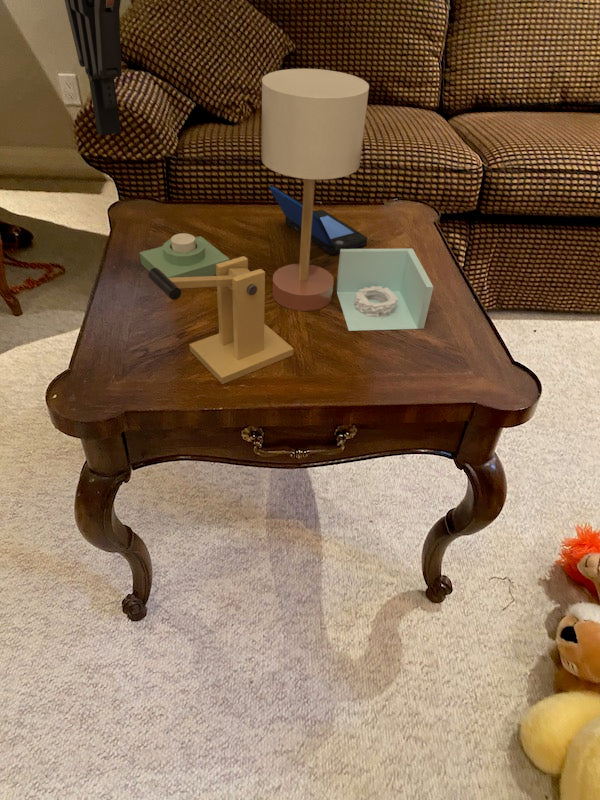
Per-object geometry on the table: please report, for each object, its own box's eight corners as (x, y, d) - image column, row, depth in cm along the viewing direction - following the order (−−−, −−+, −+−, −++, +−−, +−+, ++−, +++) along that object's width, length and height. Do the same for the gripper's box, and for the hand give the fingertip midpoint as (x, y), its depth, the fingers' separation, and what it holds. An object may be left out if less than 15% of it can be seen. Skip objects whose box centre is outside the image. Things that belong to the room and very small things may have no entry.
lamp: (293, 328, 90) (305, 103, 69) (243, 287, 98) (241, 75, 77) (361, 301, 97) (391, 89, 76) (310, 265, 105) (324, 64, 84)
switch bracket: (222, 384, 80) (218, 297, 70) (189, 350, 85) (181, 265, 75) (293, 355, 85) (298, 270, 76) (258, 325, 90) (259, 242, 81)
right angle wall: (336, 289, 99) (340, 249, 94) (404, 288, 101) (412, 248, 96) (348, 330, 90) (354, 288, 85) (423, 328, 92) (433, 287, 87)
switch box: (167, 289, 97) (165, 267, 94) (140, 263, 102) (137, 242, 100) (230, 270, 102) (229, 249, 100) (201, 246, 108) (200, 226, 105)
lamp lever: (168, 303, 69) (170, 284, 67) (147, 282, 72) (149, 264, 70) (258, 297, 77) (262, 280, 76) (236, 279, 80) (239, 262, 79)
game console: (369, 246, 112) (376, 198, 105) (313, 263, 106) (316, 214, 99) (321, 214, 121) (324, 169, 115) (266, 228, 115) (267, 181, 109)
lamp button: (178, 256, 98) (177, 246, 97) (167, 246, 100) (166, 236, 99) (200, 250, 100) (199, 240, 98) (188, 240, 102) (187, 231, 101)
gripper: (134, -95, 61) (157, 142, 76) (85, -102, 68) (115, 115, 84) (62, -98, 57) (102, 151, 73) (19, -106, 64) (63, 122, 80)
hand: (109, 132), depth 78 cm, fingers closed
